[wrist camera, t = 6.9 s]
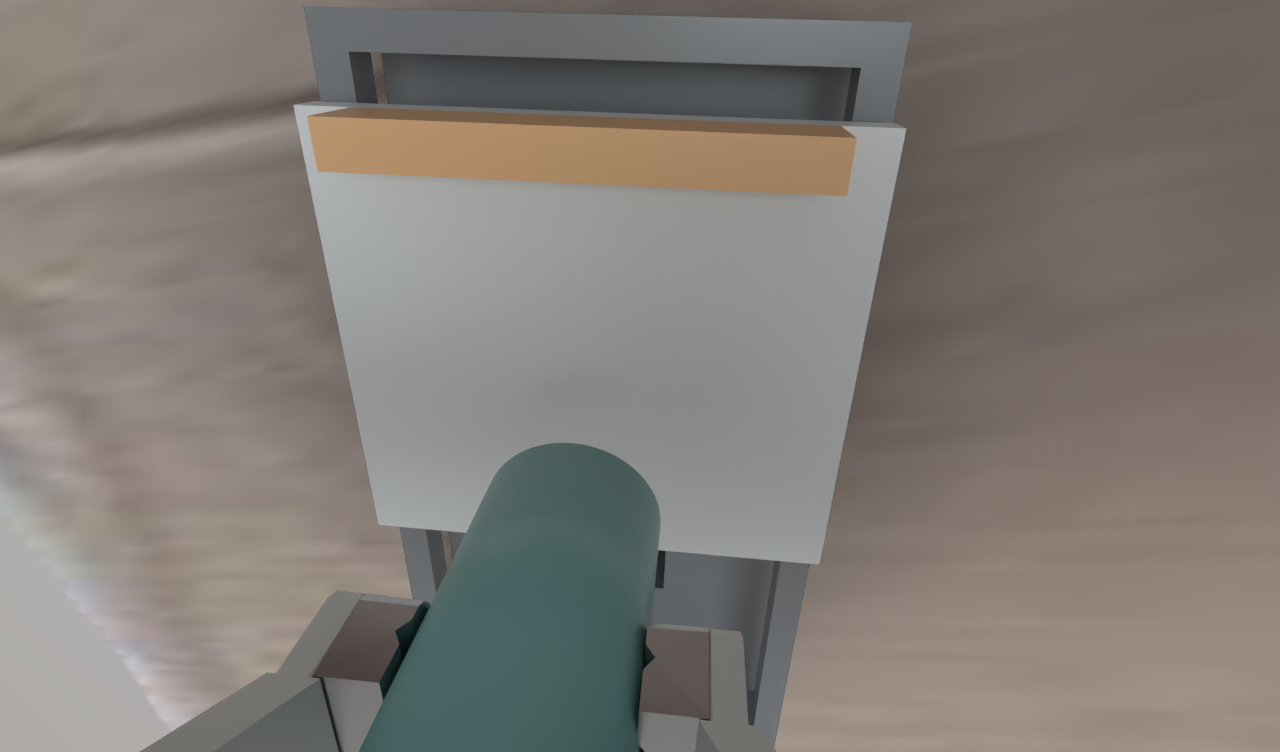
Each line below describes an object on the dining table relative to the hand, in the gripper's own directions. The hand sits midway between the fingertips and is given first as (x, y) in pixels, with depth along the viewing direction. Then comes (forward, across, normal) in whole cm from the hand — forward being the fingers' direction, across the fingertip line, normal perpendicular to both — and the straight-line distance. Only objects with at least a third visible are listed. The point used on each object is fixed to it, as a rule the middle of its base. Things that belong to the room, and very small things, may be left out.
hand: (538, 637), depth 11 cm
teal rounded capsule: (+3, 0, 0) cm, 3 cm away
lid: (+10, +1, 0) cm, 10 cm away
